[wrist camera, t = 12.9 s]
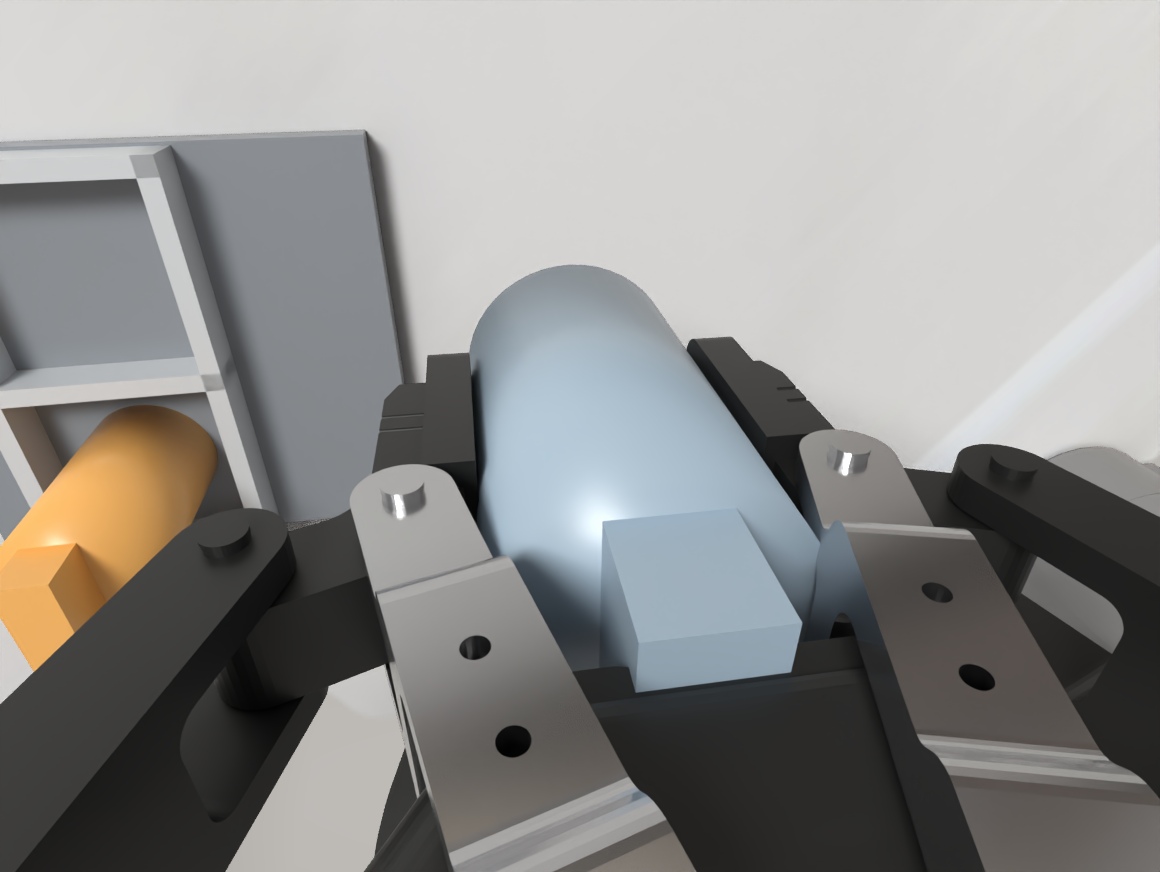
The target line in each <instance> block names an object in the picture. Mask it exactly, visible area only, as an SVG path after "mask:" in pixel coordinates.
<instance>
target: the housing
mask: <svg viewBox="0 0 1160 872" xmlns="http://www.w3.org/2000/svg"><path fill="white" fill-rule="evenodd" d="M401 384H405V382H404V375H403V369H402V363H401V356H400V350H399V343H398V337H397V330H396V324H395V318H394V311H393V305H392V298H391V292H390V285H389V279H388V273H387V266H386V260H385V253H384V247H383V241H382V234H381V228H380V221H379V215H378V208H377V202H376V196H375V189H374V183H373V176H372V170H371V163H370V157H369V151H368V144H367V138H366V131H365V130H342V131H312V132H282V133H252V134H222V135H192V136H162V137H132V138H102V139H72V140H41V141H11V142H0V533H1V535H2V537H3V539H4V540H6V539H7V538H8V536H9V535H10V534H11V533H12V531H13V530H14V529H15V528H16V526H17V525H18V524H19V523H20V522H21V520H22V519H23V518H24V517H25V515H26V514H27V513H28V512H29V510H30V509H31V508H32V507H33V505H34V504H35V503H36V502H37V500H38V499H39V498H40V497H41V495H42V494H43V493H44V492H45V491H46V489H47V488H48V487H49V486H50V484H51V483H52V482H53V481H54V479H55V478H56V477H57V476H58V474H59V473H60V472H61V471H62V469H63V468H64V467H65V466H66V464H67V463H68V462H69V461H70V459H71V458H72V457H73V456H74V455H75V453H76V452H77V451H78V450H79V448H80V447H81V446H82V445H83V443H84V442H85V441H86V440H87V438H88V437H89V436H90V435H91V433H92V432H93V431H94V430H95V428H96V427H97V426H98V425H99V424H100V422H101V421H102V420H103V419H104V418H105V417H107V416H108V415H109V414H111V413H113V412H114V411H116V410H119V409H121V408H125V407H128V406H134V405H155V406H161V407H166V408H169V409H172V410H175V411H178V412H180V413H182V414H184V415H186V416H188V417H189V418H191V419H193V420H194V421H195V422H197V423H198V424H199V425H200V426H201V427H202V428H203V429H204V430H205V431H206V432H207V433H208V434H209V436H210V437H211V439H212V441H213V442H214V445H215V447H216V450H217V454H218V466H217V470H216V473H215V475H214V477H213V479H212V481H211V483H210V485H209V488H208V490H207V492H206V494H205V496H204V498H203V500H202V502H201V504H200V507H199V509H198V511H197V513H196V515H195V517H194V519H193V521H192V524H193V523H195V522H197V521H198V520H200V519H203V518H205V517H207V516H210V515H213V514H216V513H219V512H223V511H227V510H232V509H239V508H259V509H265V510H269V511H271V512H274V513H276V514H278V515H279V516H280V517H282V518H283V519H284V521H285V523H291V522H300V521H309V520H318V519H327V518H334V517H336V516H338V515H340V514H342V513H344V512H346V511H347V510H349V509H350V496H351V493H352V491H353V489H354V488H355V487H356V486H357V484H359V483H360V482H361V481H362V480H363V479H365V478H366V477H368V476H369V475H371V474H372V469H373V463H374V458H375V452H376V446H377V440H378V434H379V428H380V422H381V419H382V410H383V404H384V399H385V398H386V397H387V396H388V395H389V394H390V393H391V392H392V391H393V390H394V389H395V388H396V387H397V386H398V385H401Z"/></svg>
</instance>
